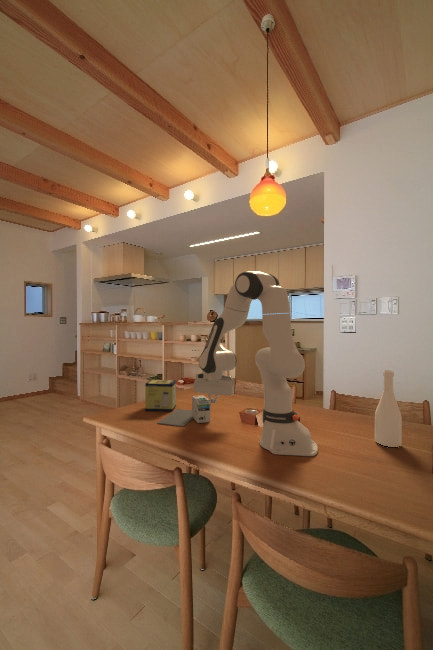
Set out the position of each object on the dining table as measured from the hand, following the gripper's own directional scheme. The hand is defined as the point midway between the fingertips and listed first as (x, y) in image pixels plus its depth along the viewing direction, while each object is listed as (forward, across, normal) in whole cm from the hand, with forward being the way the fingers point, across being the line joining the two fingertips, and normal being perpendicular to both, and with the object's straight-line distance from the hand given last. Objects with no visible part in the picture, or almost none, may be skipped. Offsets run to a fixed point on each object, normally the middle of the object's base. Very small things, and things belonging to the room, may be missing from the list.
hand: (213, 402), depth 147 cm
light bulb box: (+9, +7, 0) cm, 12 cm away
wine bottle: (+9, -76, +4) cm, 77 cm away
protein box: (+10, +35, -12) cm, 38 cm away
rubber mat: (+10, +18, 0) cm, 20 cm away
